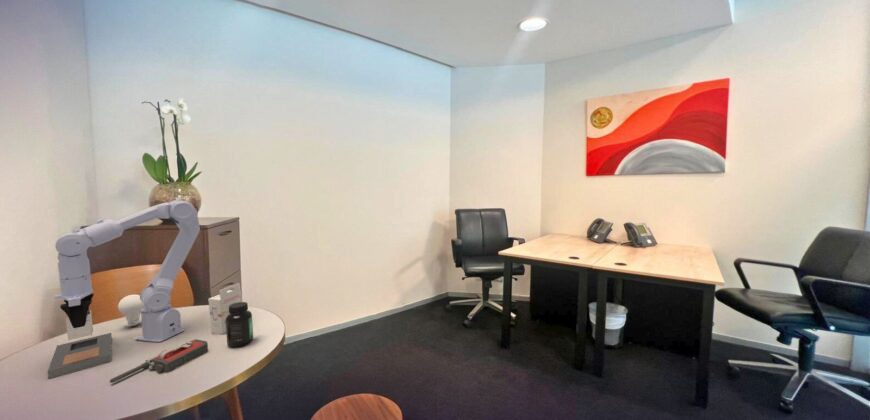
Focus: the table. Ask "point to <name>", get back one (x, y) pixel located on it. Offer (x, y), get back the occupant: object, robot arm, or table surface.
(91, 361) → the hole plate
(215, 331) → the ink cartridge box
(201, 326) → the table surface
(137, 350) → the table surface
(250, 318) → the supplement bottle
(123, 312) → the light bulb
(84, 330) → the square peg
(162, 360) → the walkie-talkie
